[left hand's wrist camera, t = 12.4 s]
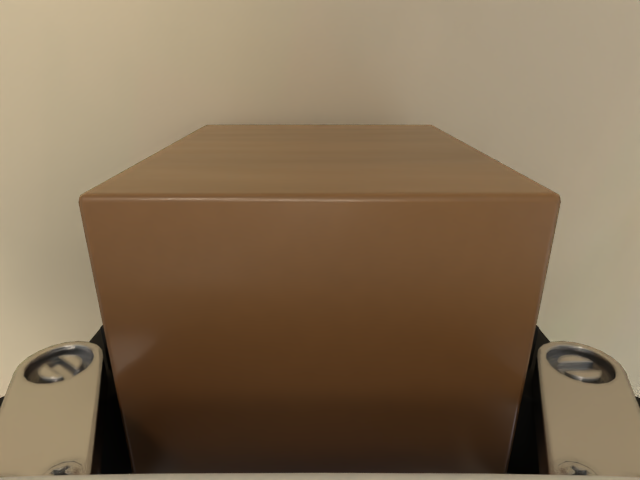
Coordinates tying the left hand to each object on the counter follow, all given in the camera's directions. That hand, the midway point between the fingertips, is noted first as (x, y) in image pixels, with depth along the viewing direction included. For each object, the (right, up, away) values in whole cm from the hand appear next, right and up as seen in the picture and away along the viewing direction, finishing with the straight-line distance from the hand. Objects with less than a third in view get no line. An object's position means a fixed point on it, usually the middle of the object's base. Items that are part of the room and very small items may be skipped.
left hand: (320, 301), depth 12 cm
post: (0, -32, +14) cm, 35 cm away
